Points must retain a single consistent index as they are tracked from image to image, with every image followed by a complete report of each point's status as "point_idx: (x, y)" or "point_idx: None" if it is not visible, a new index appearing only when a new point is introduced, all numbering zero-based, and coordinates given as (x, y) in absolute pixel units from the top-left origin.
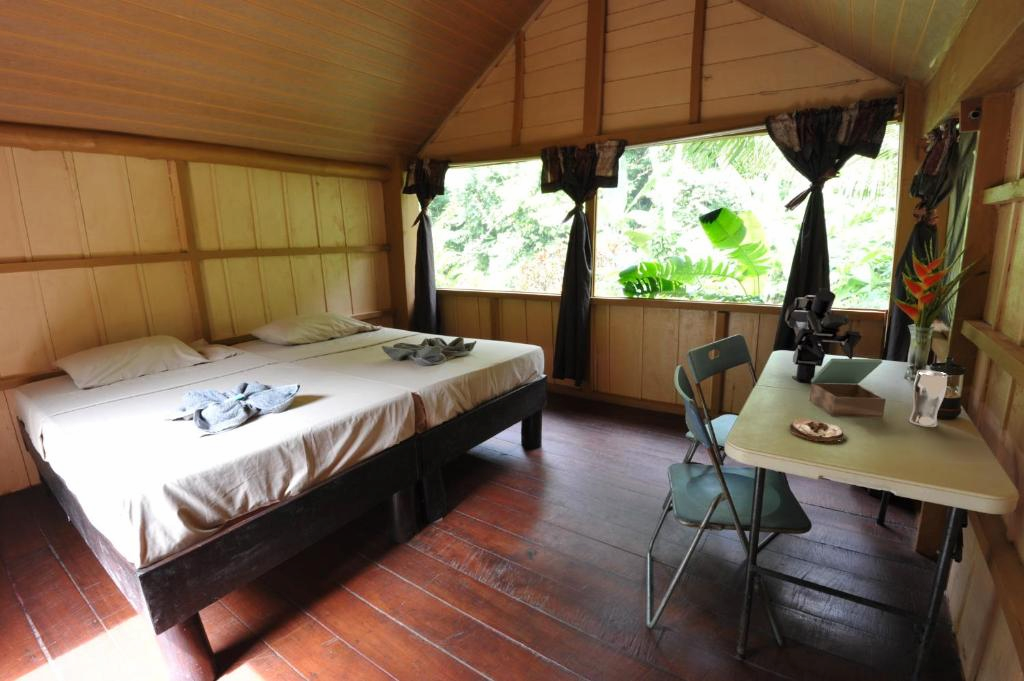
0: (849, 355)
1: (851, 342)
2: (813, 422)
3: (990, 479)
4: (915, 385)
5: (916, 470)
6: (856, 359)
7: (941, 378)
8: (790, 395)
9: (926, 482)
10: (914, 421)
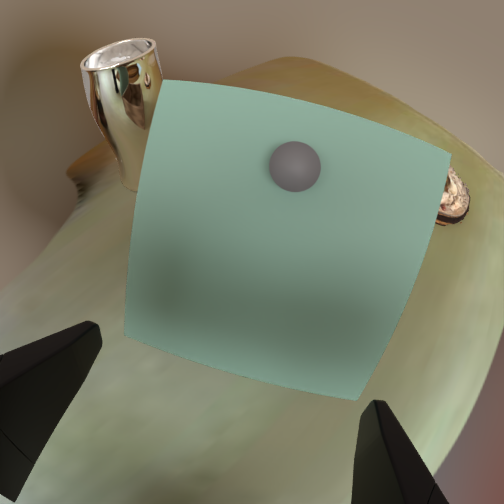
0: (83, 354)
1: None
2: (448, 171)
3: (276, 64)
4: (154, 92)
5: (347, 88)
6: (311, 103)
7: (136, 43)
8: (351, 457)
9: (355, 79)
10: None
